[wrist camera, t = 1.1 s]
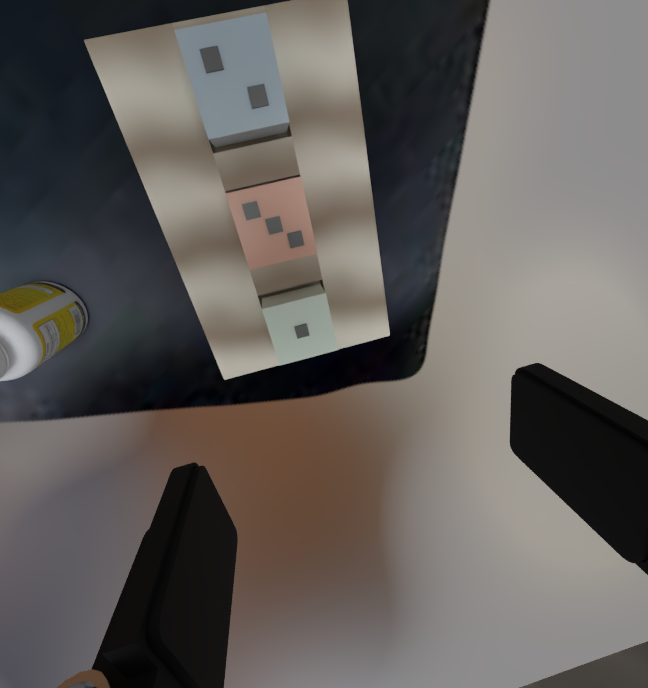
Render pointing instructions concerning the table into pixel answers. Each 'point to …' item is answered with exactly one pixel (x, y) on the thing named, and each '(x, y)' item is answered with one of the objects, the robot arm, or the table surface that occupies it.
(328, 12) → the key panel
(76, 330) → the supplement bottle
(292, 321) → the key one dot
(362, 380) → the table surface
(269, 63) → the key two dots
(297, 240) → the key three dots
